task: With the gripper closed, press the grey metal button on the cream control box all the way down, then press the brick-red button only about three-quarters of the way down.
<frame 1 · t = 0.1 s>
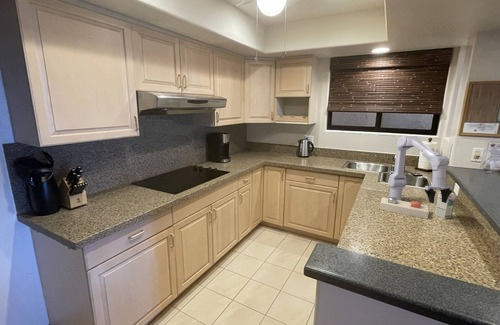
hand: (437, 202, 134), 11 cm above the worktop, tool pointing down, fingers open, 7 cm apart
control box: (402, 210, 149), on the worktop
syrup box: (442, 216, 142), on the worktop
grey button: (392, 201, 151), point 4 cm above the worktop, slide at 0.0 cm
red button: (415, 206, 145), point 4 cm above the worktop, slide at 0.0 cm
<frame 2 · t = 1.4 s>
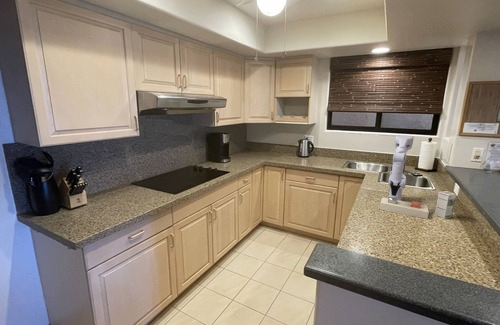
hand: (393, 193, 150), 9 cm above the worktop, tool pointing down, fingers open, 7 cm apart
nothing on the worktop moved.
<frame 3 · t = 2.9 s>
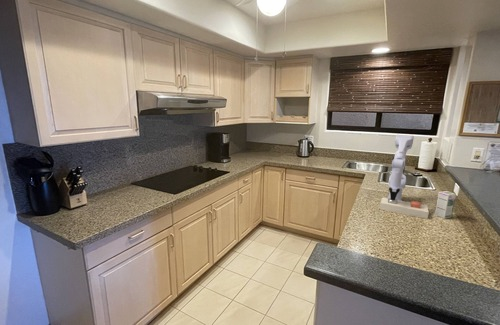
hand: (392, 199, 151), 6 cm above the worktop, tool pointing down, fingers closed, pressing on grey button
grey button: (392, 203, 151), point 3 cm above the worktop, slide at 0.8 cm, touching gripper
everything else where it was.
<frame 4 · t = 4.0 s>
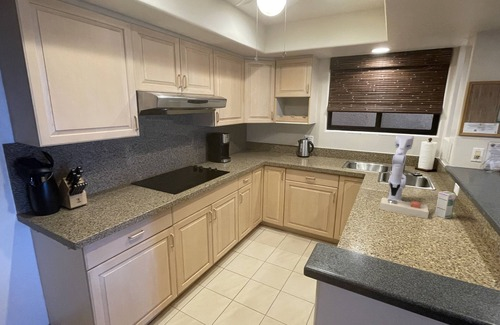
hand: (393, 195, 150), 8 cm above the worktop, tool pointing down, fingers closed
grey button: (392, 204, 151), point 2 cm above the worktop, slide at 1.6 cm, touching control box
everything else where it was.
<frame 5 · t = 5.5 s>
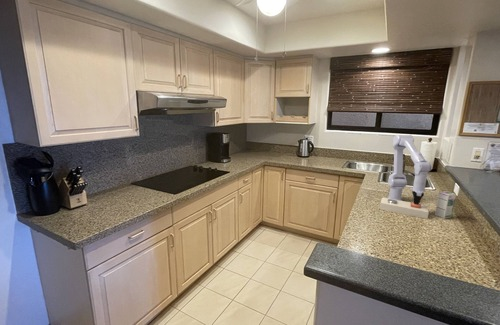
hand: (415, 204, 145), 6 cm above the worktop, tool pointing down, fingers closed, pressing on red button
red button: (415, 207, 145), point 3 cm above the worktop, slide at 0.9 cm, touching gripper
everything else where it was.
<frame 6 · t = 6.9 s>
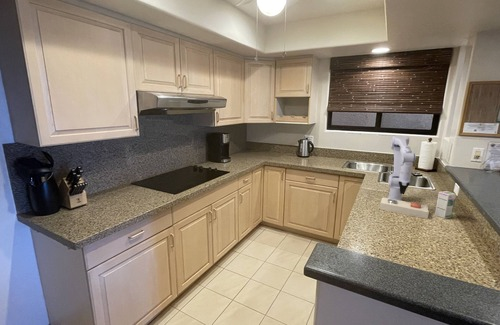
hand: (402, 193, 151), 9 cm above the worktop, tool pointing down, fingers closed
red button: (415, 207, 145), point 3 cm above the worktop, slide at 1.0 cm
everything else where it was.
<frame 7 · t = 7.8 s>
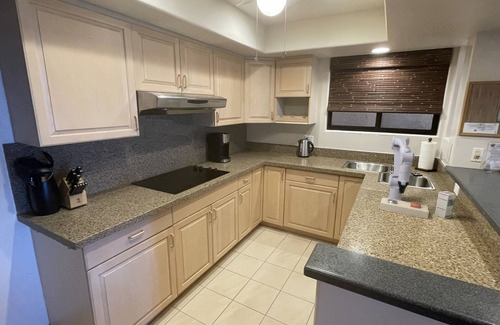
hand: (401, 193, 151), 9 cm above the worktop, tool pointing down, fingers closed
nothing on the worktop moved.
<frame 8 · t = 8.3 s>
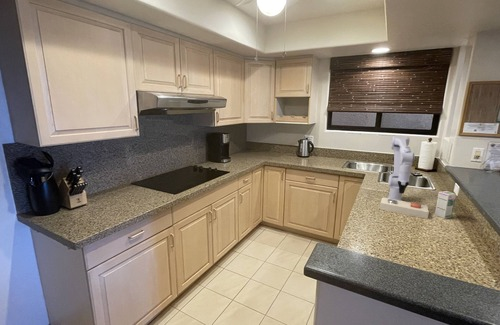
hand: (401, 193, 151), 9 cm above the worktop, tool pointing down, fingers closed
nothing on the worktop moved.
at the end: grey button slide at 1.6 cm; red button slide at 1.0 cm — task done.
